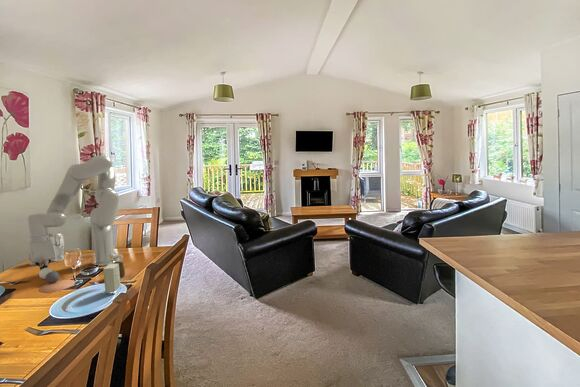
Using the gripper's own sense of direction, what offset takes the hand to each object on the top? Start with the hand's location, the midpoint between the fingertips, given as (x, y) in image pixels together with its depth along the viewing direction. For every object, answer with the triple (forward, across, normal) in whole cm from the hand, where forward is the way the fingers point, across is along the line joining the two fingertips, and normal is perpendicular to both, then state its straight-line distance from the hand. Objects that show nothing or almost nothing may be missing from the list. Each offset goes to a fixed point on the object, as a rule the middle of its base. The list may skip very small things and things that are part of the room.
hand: (44, 273), depth 171 cm
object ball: (-1, 0, +13) cm, 13 cm away
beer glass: (+2, -12, -25) cm, 28 cm away
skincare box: (+2, -16, +47) cm, 50 cm away
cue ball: (-1, 0, +4) cm, 5 cm away
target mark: (+2, -1, +20) cm, 20 cm away
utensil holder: (+2, -24, +30) cm, 39 cm away
